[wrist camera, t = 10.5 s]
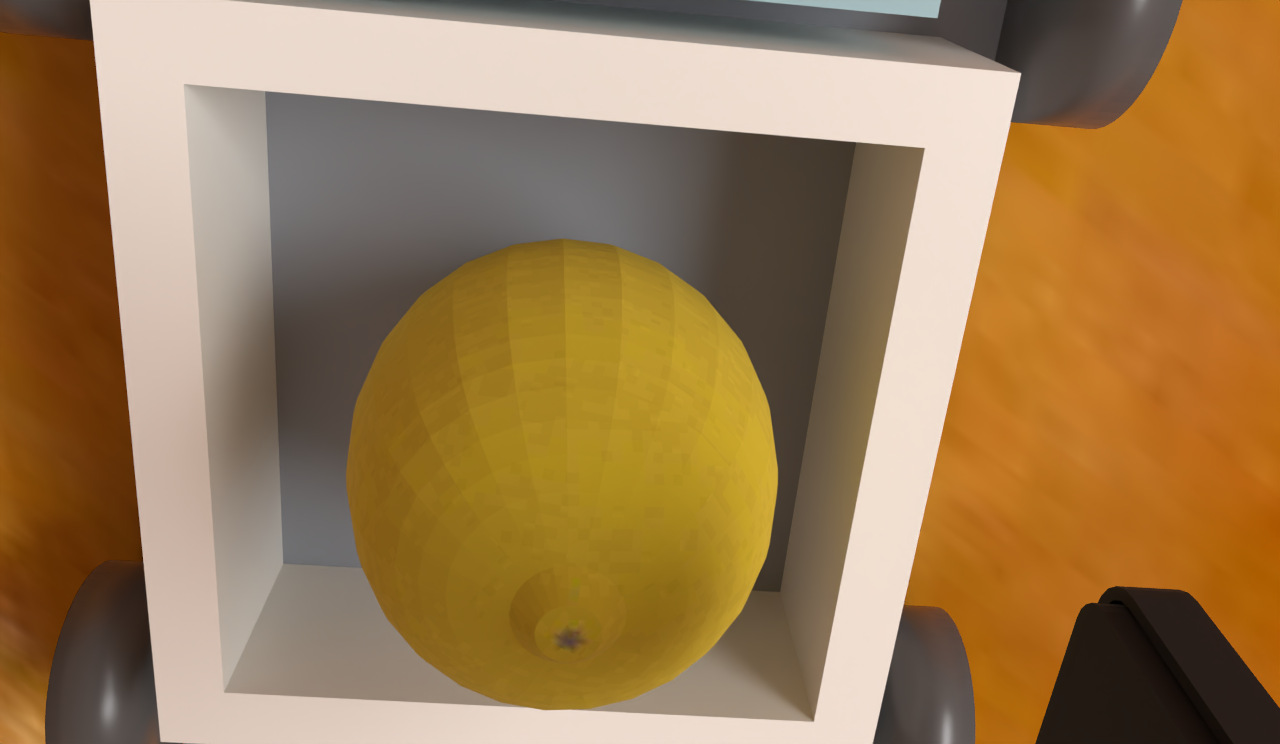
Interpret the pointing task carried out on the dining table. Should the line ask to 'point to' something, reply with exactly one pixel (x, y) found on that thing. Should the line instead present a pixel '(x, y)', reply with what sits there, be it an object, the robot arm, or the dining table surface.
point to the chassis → (529, 212)
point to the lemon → (562, 475)
